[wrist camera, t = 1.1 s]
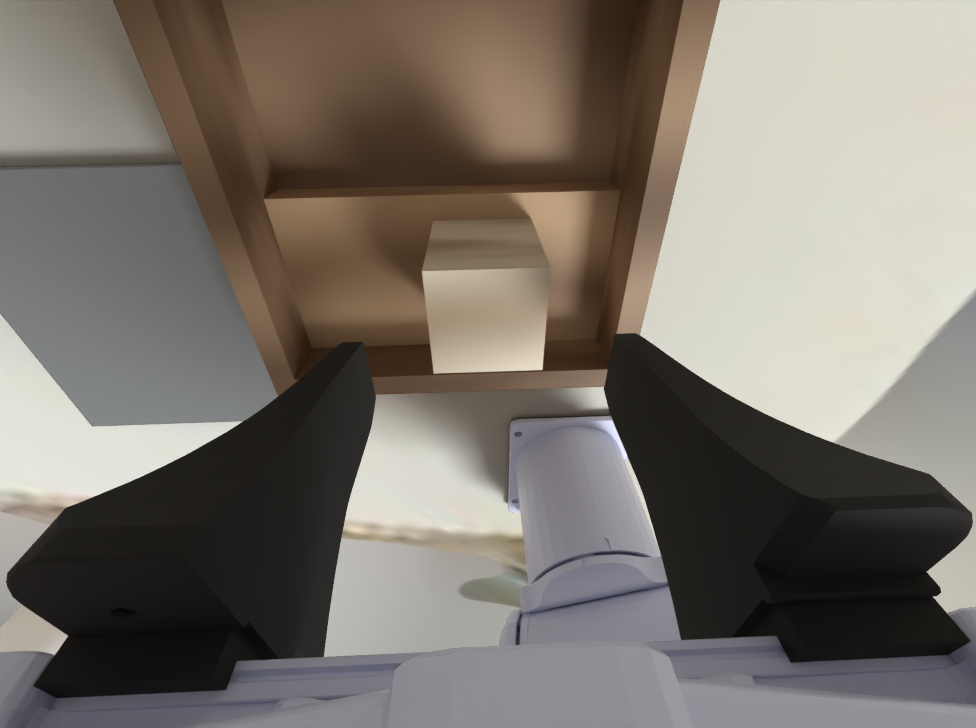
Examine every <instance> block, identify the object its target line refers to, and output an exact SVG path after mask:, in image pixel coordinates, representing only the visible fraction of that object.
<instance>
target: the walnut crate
mask: <svg viewBox="0 0 976 728" xmlns="http://www.w3.org/2000/svg"><path fill="white" fill-rule="evenodd" d="M113 1H114V4H115V6H116V9H117V11H118V13H119V16H120V18H121V21H122V23H123V25H124V28H125V30H126V33H127V35H128V37H129V40H130V42H131V45H132V47H133V49H134V52H135V54H136V57H137V59H138V61H139V64H140V66H141V69H142V71H143V73H144V76H145V78H146V81H147V83H148V85H149V88H150V90H151V93H152V95H153V97H154V100H155V102H156V105H157V107H158V109H159V112H160V114H161V117H162V119H163V121H164V124H165V126H166V129H167V131H168V133H169V136H170V138H171V141H172V143H173V145H174V148H175V150H176V153H177V155H178V157H179V160H180V162H181V165H182V167H183V170H184V172H185V174H186V177H187V179H188V182H189V184H190V186H191V189H192V191H193V194H194V196H195V198H196V201H197V203H198V206H199V208H200V210H201V213H202V215H203V218H204V220H205V222H206V225H207V227H208V230H209V232H210V234H211V237H212V239H213V242H214V244H215V246H216V249H217V251H218V254H219V256H220V258H221V261H222V263H223V266H224V268H225V270H226V273H227V275H228V278H229V280H230V282H231V285H232V287H233V290H234V292H235V294H236V297H237V299H238V302H239V304H240V306H241V309H242V311H243V314H244V316H245V318H246V321H247V323H248V326H249V328H250V330H251V333H252V335H253V338H254V340H255V342H256V345H257V347H258V350H259V352H260V355H261V357H262V359H263V362H264V364H265V367H266V369H267V371H268V374H269V376H270V379H271V381H272V383H273V386H274V388H275V391H276V393H277V395H278V396H279V395H280V394H282V393H283V392H284V391H285V390H287V389H288V388H289V387H291V386H292V385H293V384H294V383H296V382H297V381H298V380H299V379H300V378H301V377H303V376H304V375H305V374H306V373H307V372H308V371H309V370H311V369H312V368H313V367H314V366H315V365H316V364H317V363H319V362H320V361H321V360H322V359H323V358H324V357H325V356H326V355H327V354H329V353H330V352H331V351H332V350H333V349H334V348H336V347H337V346H338V345H339V344H340V343H342V342H363V343H364V347H365V351H366V356H367V360H368V364H369V369H370V373H371V377H372V382H373V386H374V390H375V394H404V393H433V392H463V391H492V390H521V389H550V388H580V387H604V386H605V381H606V376H607V370H608V365H609V360H610V355H611V350H612V345H613V340H614V335H615V334H624V333H636V334H638V335H640V332H641V328H642V324H643V319H644V315H645V311H646V307H647V303H648V299H649V294H650V290H651V286H652V282H653V278H654V274H655V270H656V265H657V261H658V257H659V253H660V249H661V245H662V240H663V236H664V232H665V228H666V224H667V220H668V215H669V211H670V207H671V203H672V199H673V195H674V190H675V186H676V182H677V178H678V174H679V170H680V165H681V161H682V157H683V153H684V149H685V145H686V140H687V136H688V132H689V128H690V124H691V120H692V115H693V111H694V107H695V103H696V99H697V95H698V91H699V86H700V82H701V78H702V74H703V70H704V66H705V61H706V57H707V53H708V49H709V45H710V41H711V36H712V32H713V28H714V24H715V20H716V16H717V11H718V7H719V3H720V0H113ZM523 218H531V219H532V221H533V224H534V226H535V229H536V231H537V234H538V237H539V239H540V242H541V244H542V247H543V249H544V252H545V254H546V257H547V259H548V262H549V265H550V267H551V270H550V282H549V295H548V307H547V320H546V332H545V345H544V357H543V370H527V371H497V372H467V373H437V374H434V371H433V363H432V354H431V345H430V337H429V328H428V320H427V311H426V302H425V294H424V285H423V277H422V268H423V264H424V260H425V255H426V251H427V246H428V242H429V238H430V233H431V229H432V224H433V221H445V220H484V219H523Z"/></svg>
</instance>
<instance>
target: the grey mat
mask: <svg viewBox="0 0 976 728" xmlns="http://www.w3.org/2000/svg"><path fill="white" fill-rule="evenodd" d="M0 314H1V315H2V316H3V317H4V319H5V320H6V321H7V322H8V324H9V325H10V326H11V327H12V328H13V330H14V331H15V332H16V333H17V335H18V336H19V337H20V338H21V340H22V341H23V342H24V343H25V344H26V346H27V347H28V348H29V349H30V351H31V352H32V353H33V354H34V356H35V357H36V358H37V359H38V360H39V362H40V363H41V364H42V365H43V367H44V368H45V369H46V370H47V371H48V373H49V374H50V375H51V376H52V378H53V379H54V380H55V381H56V383H57V384H58V385H59V386H60V387H61V389H62V390H63V391H64V392H65V394H66V395H67V396H68V397H69V399H70V400H71V401H72V402H73V403H74V405H75V406H76V407H77V408H78V410H79V411H80V412H81V413H82V414H83V416H84V417H85V418H86V419H87V421H88V422H89V423H90V424H91V426H118V425H146V424H174V423H203V422H231V421H245V420H246V419H248V418H249V417H251V416H252V415H254V414H255V413H257V412H258V411H259V410H261V409H262V408H264V407H265V406H266V405H268V404H269V403H270V402H272V401H273V400H274V399H275V398H277V397H278V395H277V393H276V391H275V388H274V386H273V383H272V381H271V379H270V376H269V374H268V371H267V369H266V367H265V364H264V362H263V359H262V357H261V355H260V352H259V350H258V347H257V345H256V342H255V340H254V338H253V335H252V333H251V330H250V328H249V326H248V323H247V321H246V318H245V316H244V314H243V311H242V309H241V306H240V304H239V302H238V299H237V297H236V294H235V292H234V290H233V287H232V285H231V282H230V280H229V278H228V275H227V273H226V270H225V268H224V266H223V263H222V261H221V258H220V256H219V254H218V251H217V249H216V246H215V244H214V242H213V239H212V237H211V234H210V232H209V230H208V227H207V225H206V222H205V220H204V218H203V215H202V213H201V210H200V208H199V206H198V203H197V201H196V198H195V196H194V194H193V191H192V189H191V186H190V184H189V182H188V179H187V177H186V174H185V172H184V170H183V167H182V165H181V163H161V164H117V165H72V166H28V167H0Z"/></svg>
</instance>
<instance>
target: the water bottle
mask: <svg viewBox="0 0 976 728" xmlns="http://www.w3.org/2000/svg"><path fill="white" fill-rule="evenodd" d="M67 637H68V635H66V634H65V633H63V632H62V631H60V630H59V629H57V628H56V627H54V626H53V625H51V624H50V623H48V622H47V621H45V620H44V619H42V618H41V617H39V616H38V615H36V614H35V613H33V612H32V611H30V610H29V609H27V608H26V607H24V606H23V605H22V604H21V603H20V604H19V606H18V607H17V609H16V611H15V612H14V614H13V615H12V616H11V618H10V619H9V620H8V621H7V622H6V623H5V624H4V625H3V626H2V627H1V628H0V652H14V651H41V652H46V653H50V654H53V655H55V654H56V653H57V651H58V650H59V648H60V647H61V645H62V644H63V643H64V641H65V640H66V638H67Z"/></svg>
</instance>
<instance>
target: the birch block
mask: <svg viewBox="0 0 976 728" xmlns="http://www.w3.org/2000/svg"><path fill="white" fill-rule="evenodd" d="M550 270H551V267H550V265H549V262H548V259H547V257H546V254H545V252H544V249H543V247H542V244H541V242H540V239H539V237H538V234H537V231H536V229H535V226H534V224H533V221H532V219H531V218H523V219H484V220H445V221H433V224H432V229H431V233H430V238H429V242H428V246H427V251H426V255H425V260H424V264H423V268H422V277H423V285H424V294H425V302H426V311H427V320H428V328H429V337H430V345H431V354H432V363H433V371H434V374H437V373H467V372H497V371H527V370H543V357H544V345H545V332H546V320H547V307H548V295H549V282H550Z"/></svg>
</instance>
